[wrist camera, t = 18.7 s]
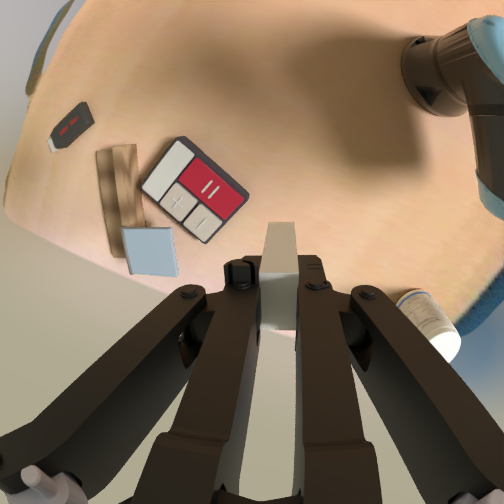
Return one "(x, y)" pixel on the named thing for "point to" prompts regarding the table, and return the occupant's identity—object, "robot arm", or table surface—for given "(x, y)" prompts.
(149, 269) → the light blue flat tile
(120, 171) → the wooden l-shaped bracket
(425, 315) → the supplement tub
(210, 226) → the calculator
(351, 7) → the table surface
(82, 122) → the usb drive
